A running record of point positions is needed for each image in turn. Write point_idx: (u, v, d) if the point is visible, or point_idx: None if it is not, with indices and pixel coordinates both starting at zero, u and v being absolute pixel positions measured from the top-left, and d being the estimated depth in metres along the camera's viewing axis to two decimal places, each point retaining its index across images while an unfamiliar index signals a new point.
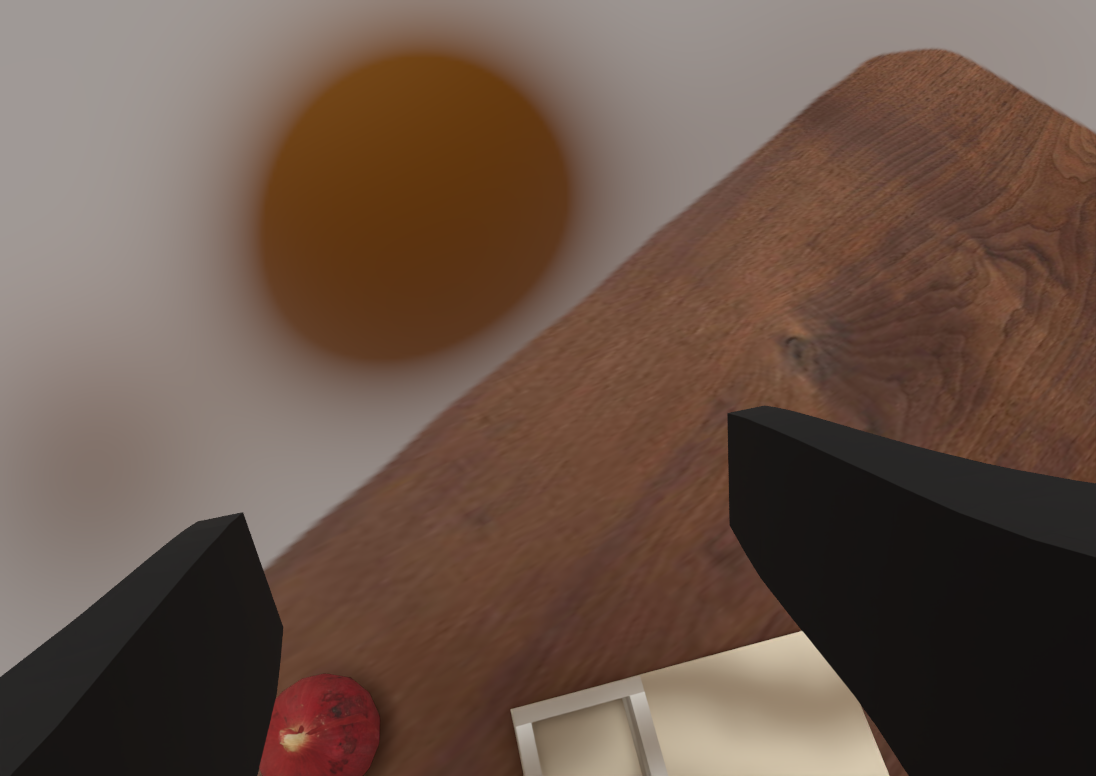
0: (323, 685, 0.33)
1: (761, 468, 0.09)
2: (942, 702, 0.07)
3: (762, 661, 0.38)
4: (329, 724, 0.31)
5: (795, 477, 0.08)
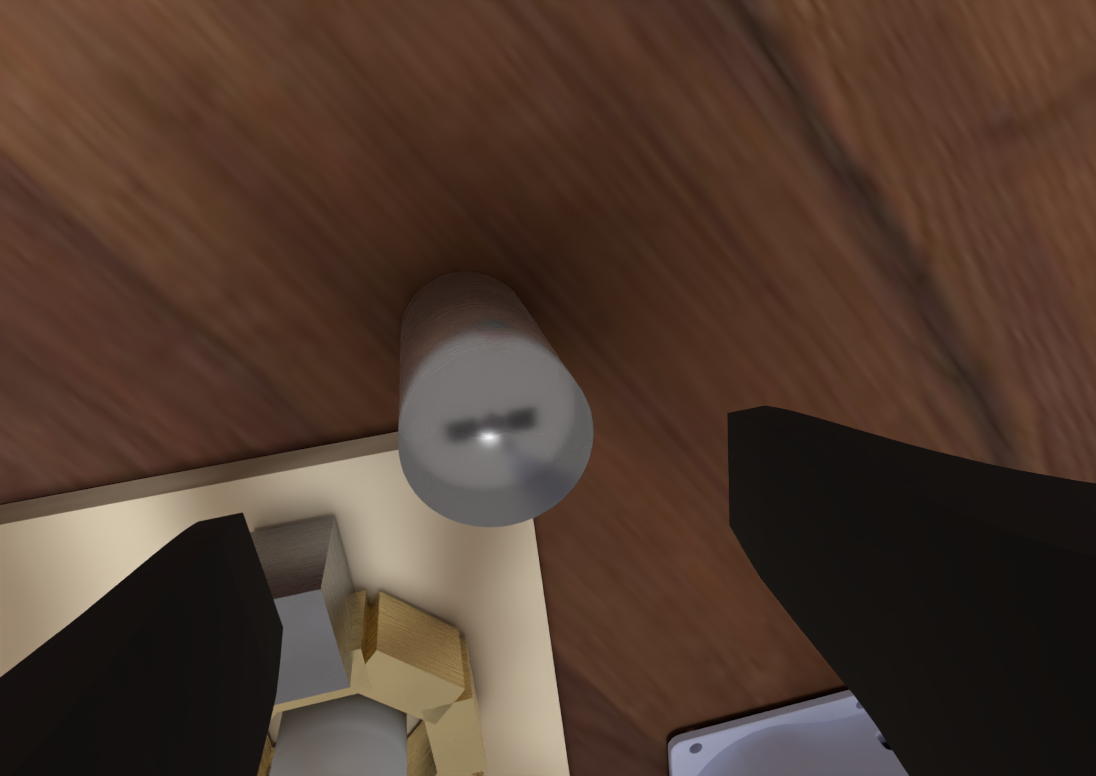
0: None
1: (761, 468, 0.09)
2: (942, 702, 0.07)
3: None
4: None
5: (795, 477, 0.08)
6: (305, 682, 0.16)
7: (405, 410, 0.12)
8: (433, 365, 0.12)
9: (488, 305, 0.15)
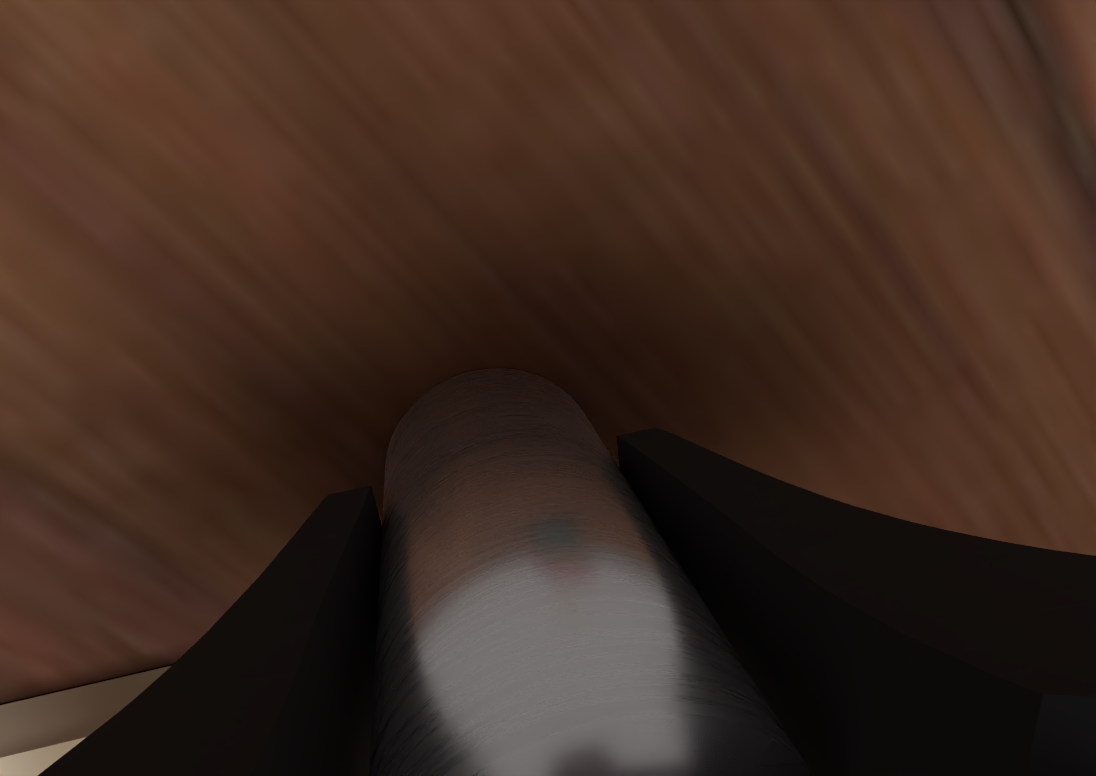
0: None
1: (641, 494, 0.09)
2: None
3: None
4: None
5: (665, 506, 0.08)
6: None
7: None
8: (448, 744, 0.05)
9: (552, 483, 0.07)
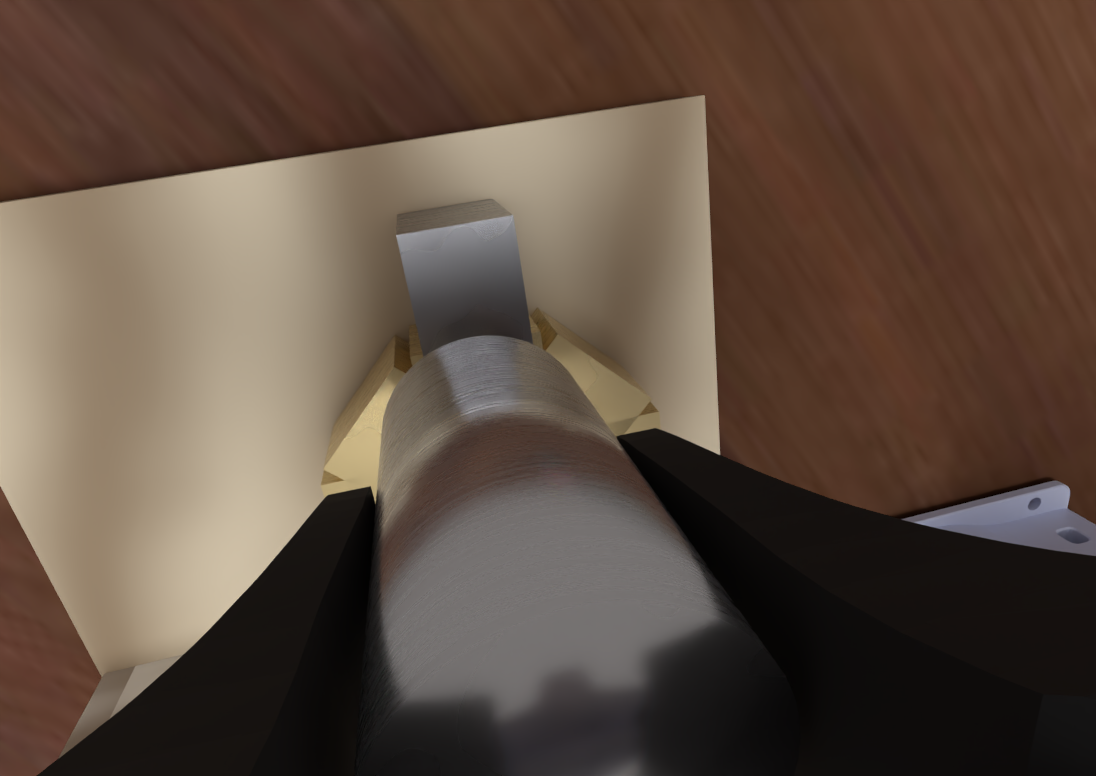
0: None
1: None
2: None
3: (15, 415, 0.15)
4: None
5: (665, 506, 0.08)
6: None
7: (381, 731, 0.05)
8: (463, 615, 0.05)
9: (560, 428, 0.08)
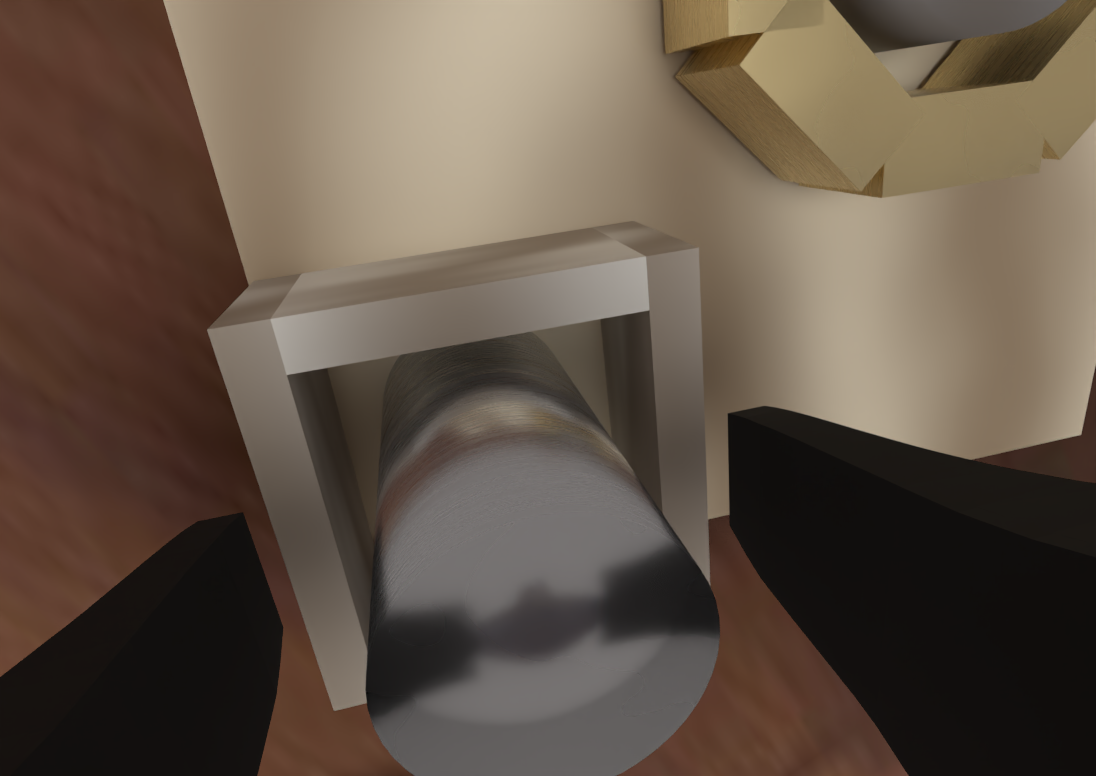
0: None
1: (761, 468, 0.09)
2: (942, 702, 0.07)
3: None
4: None
5: (795, 477, 0.08)
6: None
7: (409, 585, 0.06)
8: (481, 510, 0.06)
9: (558, 397, 0.09)
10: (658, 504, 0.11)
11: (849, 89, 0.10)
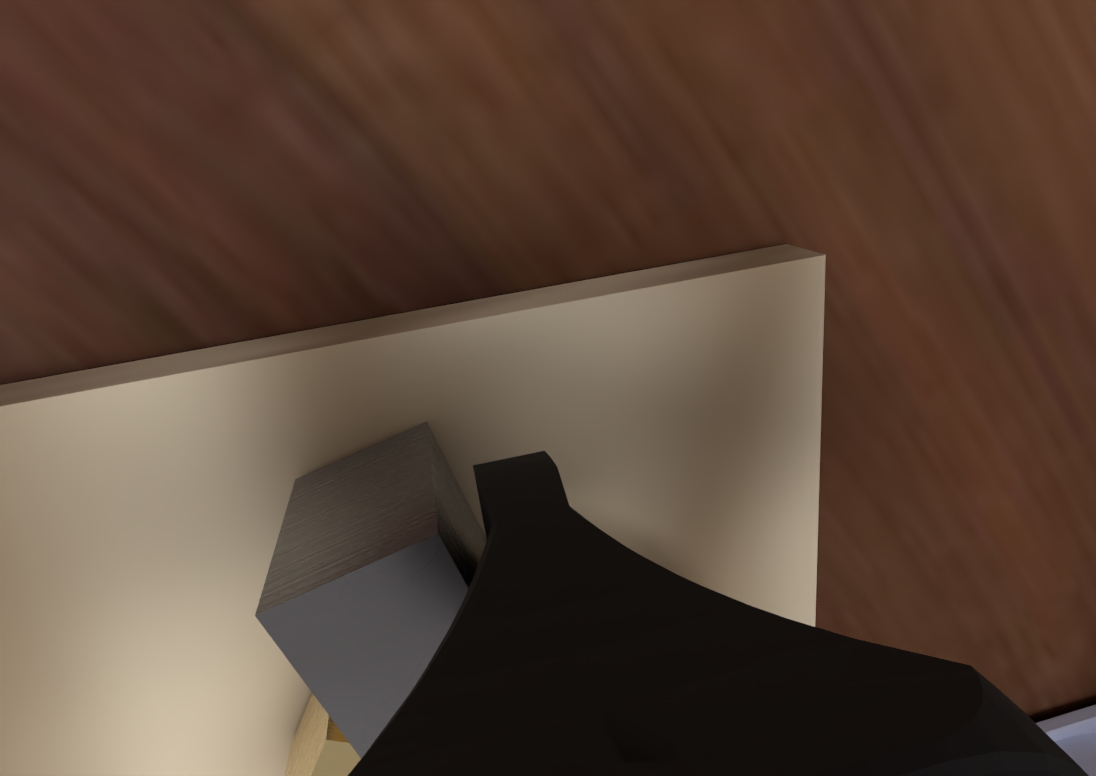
0: None
1: (486, 528, 0.09)
2: None
3: None
4: None
5: None
6: None
7: None
8: None
9: None
10: None
11: None
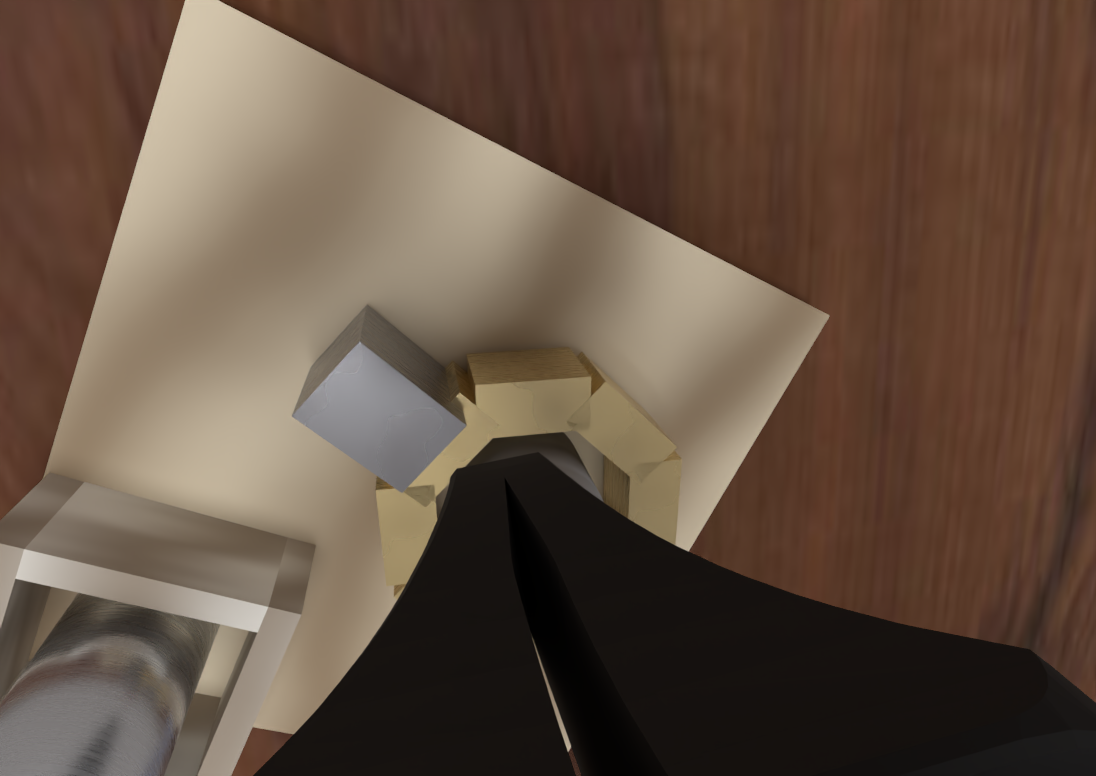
0: None
1: (513, 522, 0.09)
2: None
3: (175, 208, 0.15)
4: None
5: (524, 537, 0.08)
6: (422, 443, 0.15)
7: None
8: (39, 753, 0.12)
9: (164, 666, 0.15)
10: (215, 732, 0.17)
11: None
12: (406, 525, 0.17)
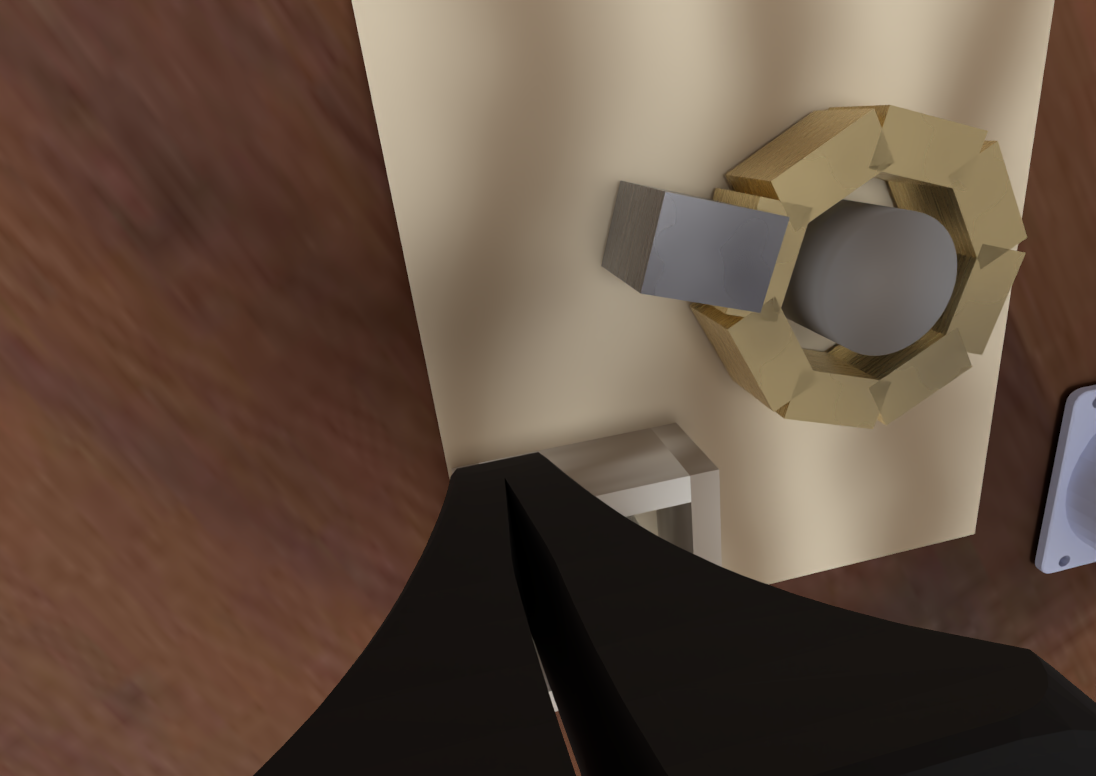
0: None
1: (513, 522, 0.09)
2: None
3: (432, 191, 0.16)
4: None
5: (524, 537, 0.08)
6: (758, 256, 0.15)
7: None
8: None
9: None
10: None
11: (924, 370, 0.18)
12: (767, 348, 0.17)
